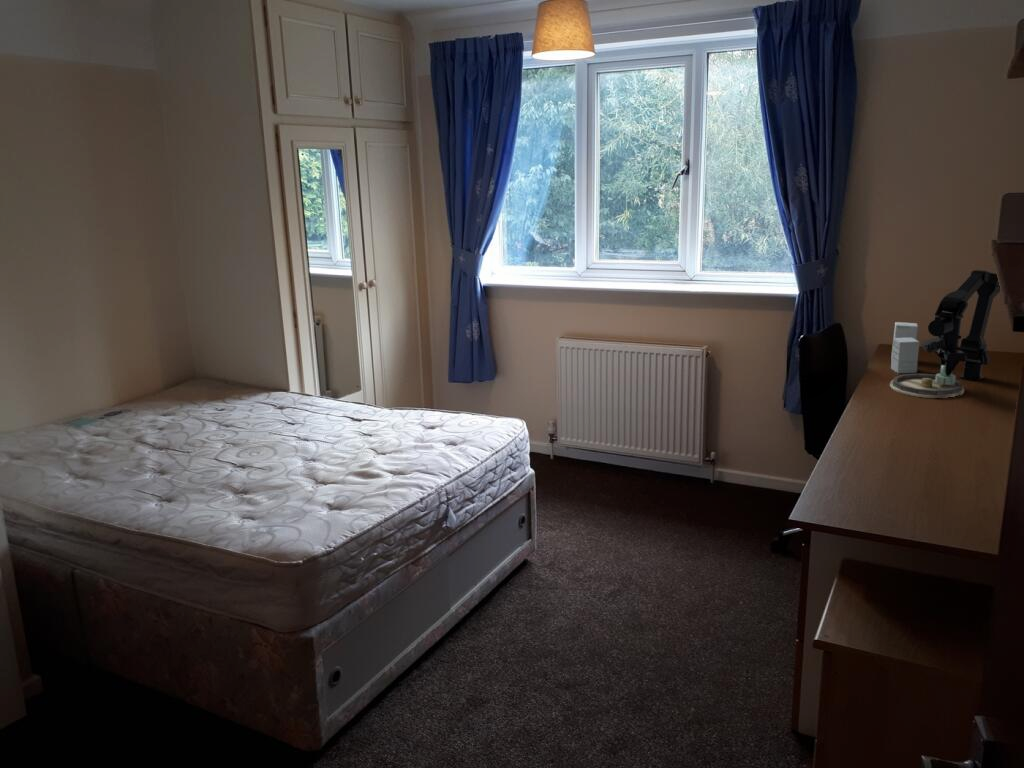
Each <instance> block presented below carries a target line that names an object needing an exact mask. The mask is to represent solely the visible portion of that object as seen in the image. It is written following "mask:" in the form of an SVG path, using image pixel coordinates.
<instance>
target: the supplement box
mask: <svg viewBox="0 0 1024 768" xmlns="http://www.w3.org/2000/svg"><path fill="white" fill-rule="evenodd" d="M892 347H893V349H892V348H891V355H892V360H891V362H890V363H891V364H890V369H891V370H892V371H894V372H895V373H896V372H897V373H896V374H918V373H917V372H918V359H919V352H920V341H919V340H917V338H916V339H914V338H912V337H910V338H894V337H893V339H892Z"/></svg>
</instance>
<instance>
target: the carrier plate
mask: <svg viewBox="0 0 1024 768" xmlns="http://www.w3.org/2000/svg"><path fill="white" fill-rule="evenodd" d="M935 378H936V374H933V373H932V374H931V373H929V374H928V373H902V374H900V375H897V376H894V377H893V378H892V380H891V381H890V382H889V388H890V387H891V388H890V389H891V390H892V389H893V390H892V391H894V392H896V393H898V392H899V394H901V393H902V395H904V394H905V395H906V396H909V395H910V397H914V396H915V398H921V397H922V398H923V399H935V398H942V399H949V398H948V397H953V398H956V397H955V396H958V397H960V396H962V395H963V394H964V393H965V387H964V386H963V385H962V382H961V381H959V380H957V379H955V383H954V384H951V385H945V384H939V383H936V382H935ZM959 395H960V396H959Z"/></svg>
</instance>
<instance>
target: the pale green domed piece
mask: <svg viewBox="0 0 1024 768" xmlns="http://www.w3.org/2000/svg"><path fill="white" fill-rule="evenodd" d="M939 371H940V372H939V373H936V374H935V375H936V378H935V382H936V383H939V384H945V385H951V384H954V383H955V380H956V377H957V376H956V375H955V374H953V372H952V373H951V374H950V375H949V376H946V371H945V365H941V364H940V370H939Z"/></svg>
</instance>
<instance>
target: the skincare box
mask: <svg viewBox="0 0 1024 768" xmlns="http://www.w3.org/2000/svg"><path fill="white" fill-rule="evenodd" d="M918 325H919V324H918V323H917V322H902V321H896V322H894V329H893V338H910V337H912V338H914V339H916V340H917V338H918V337H917V336H918V329H919V326H918ZM892 349H893V346H892V347H891V350H892ZM890 360H891V361H892V354H891V357H890Z"/></svg>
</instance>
